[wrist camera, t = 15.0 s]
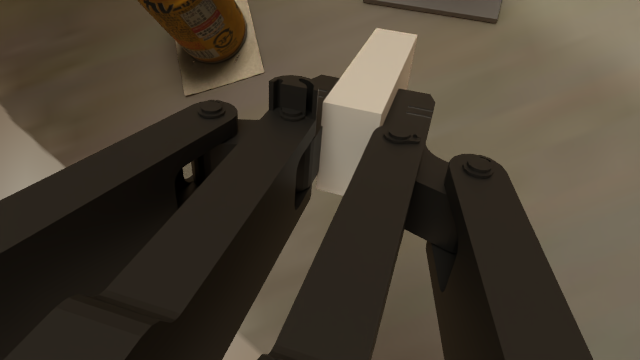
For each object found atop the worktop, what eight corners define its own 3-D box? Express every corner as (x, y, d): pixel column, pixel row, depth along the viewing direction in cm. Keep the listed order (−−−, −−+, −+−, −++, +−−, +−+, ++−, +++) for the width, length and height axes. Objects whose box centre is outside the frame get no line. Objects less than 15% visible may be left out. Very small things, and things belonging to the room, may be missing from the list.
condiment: (244, -11, 41) (185, -120, 30) (264, 73, 40) (210, -9, 28) (170, 14, 42) (84, -83, 31) (186, 97, 40) (101, 28, 29)
